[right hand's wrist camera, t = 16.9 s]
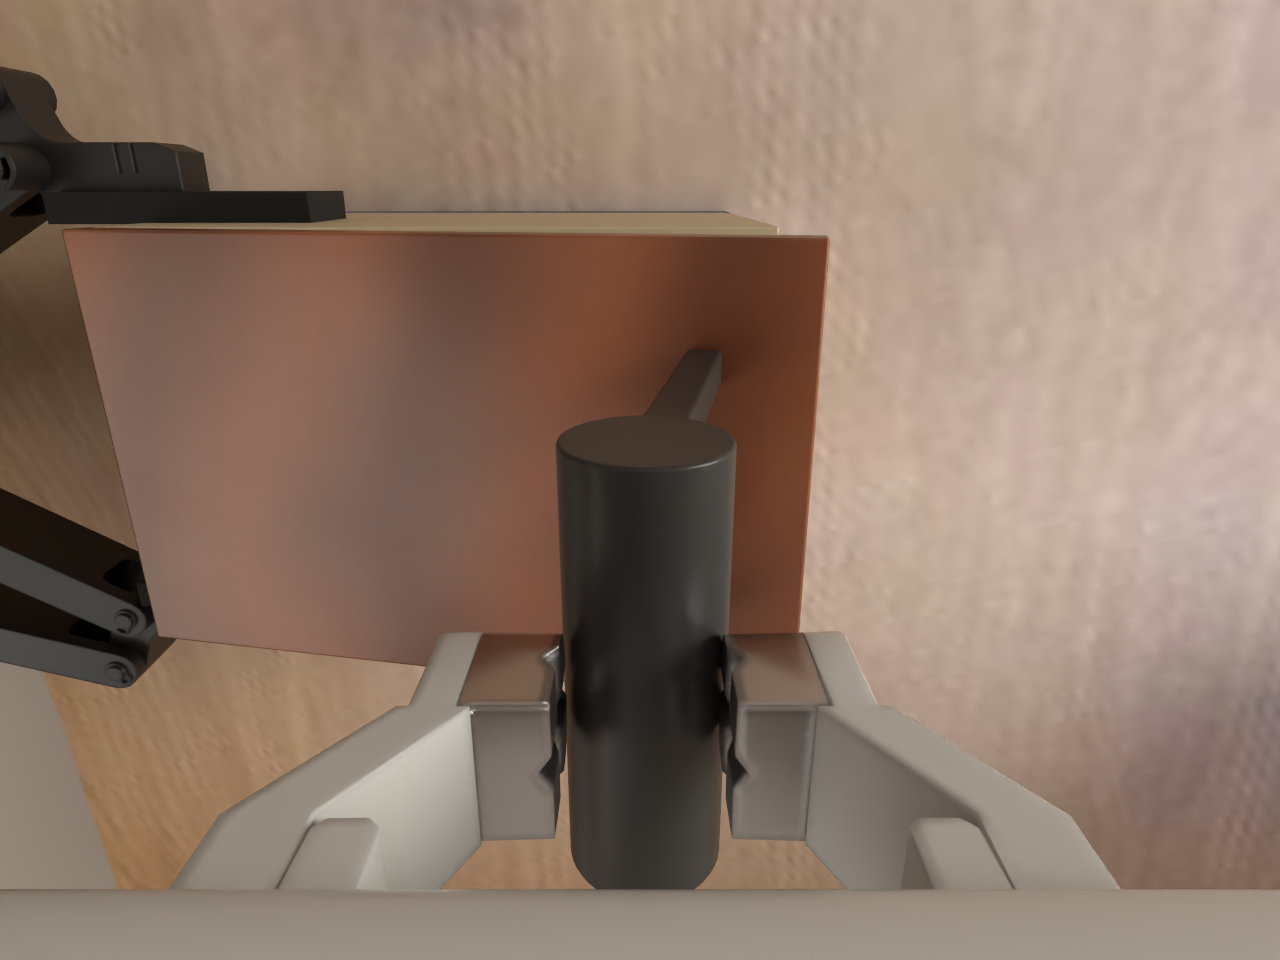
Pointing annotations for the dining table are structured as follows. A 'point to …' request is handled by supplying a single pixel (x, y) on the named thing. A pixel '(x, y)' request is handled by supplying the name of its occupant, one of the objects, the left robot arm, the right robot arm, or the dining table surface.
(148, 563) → the lid
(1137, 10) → the dining table surface
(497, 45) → the dining table surface
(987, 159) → the dining table surface
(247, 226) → the chest
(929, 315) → the dining table surface
